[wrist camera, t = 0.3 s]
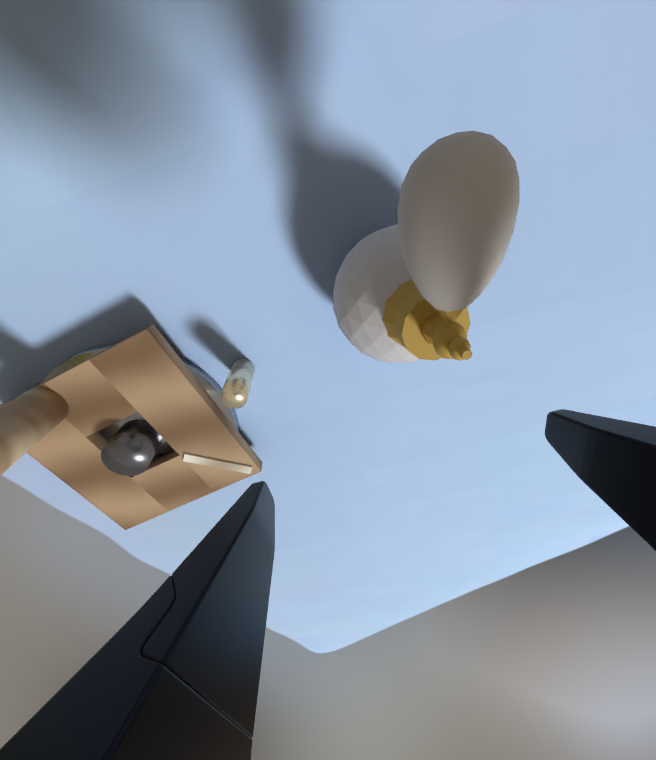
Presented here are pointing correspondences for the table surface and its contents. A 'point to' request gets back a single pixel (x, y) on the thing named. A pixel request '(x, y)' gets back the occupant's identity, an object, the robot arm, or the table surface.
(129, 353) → the flange plate
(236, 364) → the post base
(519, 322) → the table surface
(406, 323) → the perfume bottle
